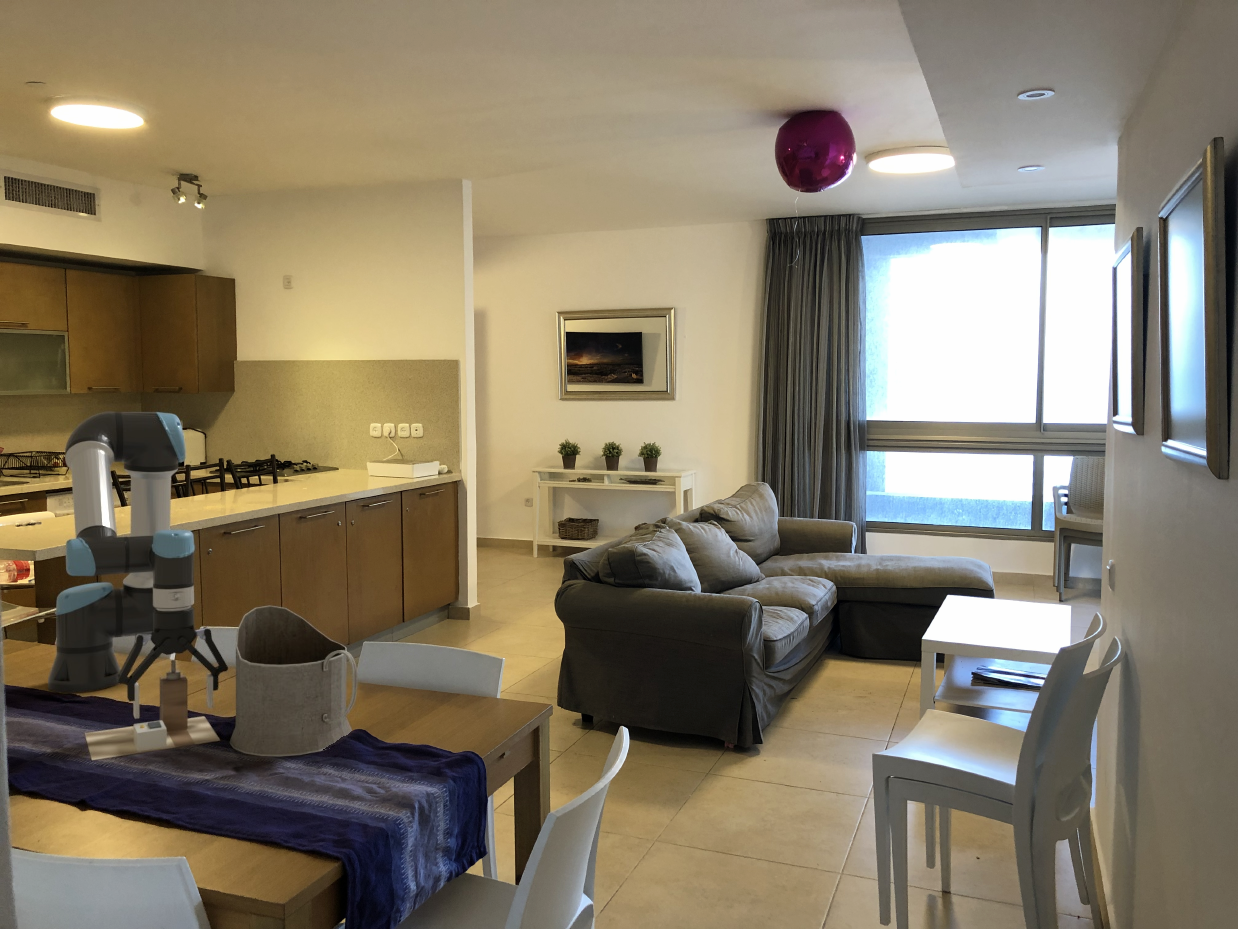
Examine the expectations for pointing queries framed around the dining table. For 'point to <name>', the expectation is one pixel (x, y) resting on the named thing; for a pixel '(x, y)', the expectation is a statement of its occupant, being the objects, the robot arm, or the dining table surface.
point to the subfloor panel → (123, 744)
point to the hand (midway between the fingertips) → (173, 711)
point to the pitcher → (289, 685)
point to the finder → (150, 735)
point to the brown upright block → (174, 699)
